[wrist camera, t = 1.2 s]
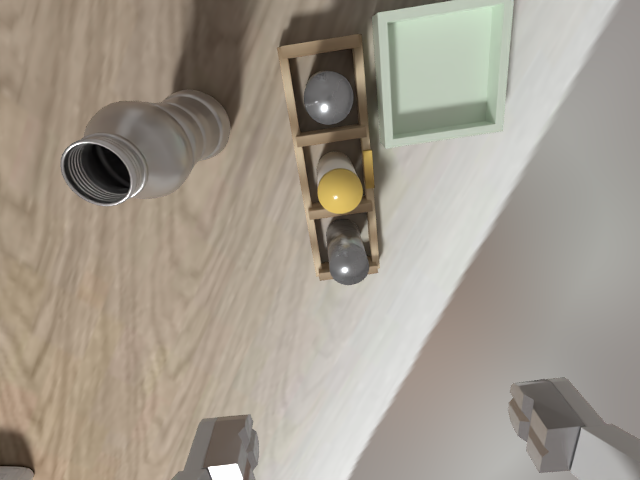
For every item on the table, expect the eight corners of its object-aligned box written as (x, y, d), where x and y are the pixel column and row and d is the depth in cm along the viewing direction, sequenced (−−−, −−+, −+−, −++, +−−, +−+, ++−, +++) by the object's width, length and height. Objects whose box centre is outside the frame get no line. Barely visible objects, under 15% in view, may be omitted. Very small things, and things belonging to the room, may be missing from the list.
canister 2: (324, 221, 42) (327, 253, 35) (357, 216, 42) (367, 247, 35) (328, 251, 44) (332, 287, 36) (360, 246, 43) (370, 282, 36)
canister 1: (302, 73, 35) (300, 75, 28) (342, 67, 35) (350, 67, 28) (308, 116, 37) (308, 128, 29) (346, 110, 36) (355, 120, 29)
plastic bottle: (222, 164, 39) (146, 248, 21) (161, 136, 37) (21, 200, 19) (244, 107, 36) (178, 147, 18) (178, 75, 35) (37, 84, 17)
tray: (371, 17, 33) (377, 12, 30) (497, -4, 32) (514, -10, 30) (380, 142, 38) (385, 148, 35) (489, 126, 38) (502, 131, 35)
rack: (278, 48, 34) (276, 47, 32) (359, 35, 34) (363, 33, 31) (316, 270, 45) (316, 281, 43) (377, 262, 44) (381, 272, 42)
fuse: (313, 154, 38) (314, 174, 31) (351, 148, 38) (360, 167, 31) (319, 189, 40) (320, 216, 33) (354, 184, 40) (364, 210, 33)
